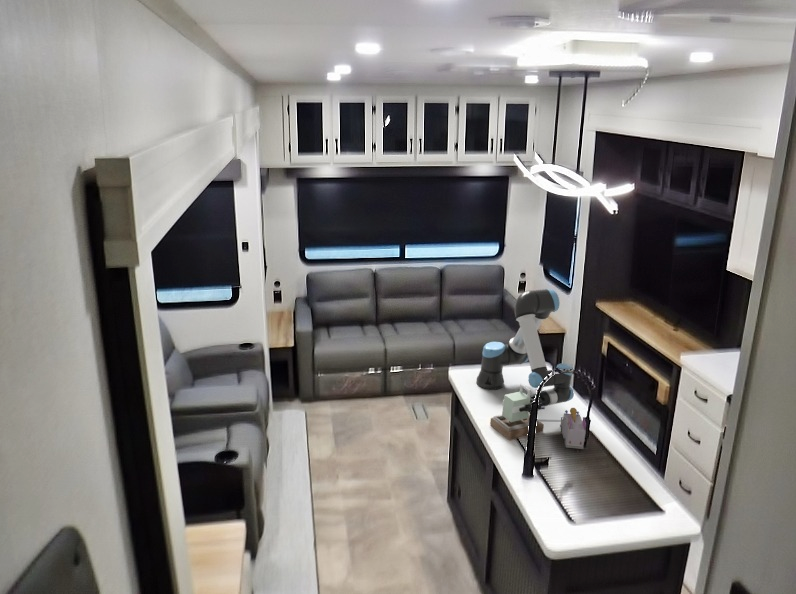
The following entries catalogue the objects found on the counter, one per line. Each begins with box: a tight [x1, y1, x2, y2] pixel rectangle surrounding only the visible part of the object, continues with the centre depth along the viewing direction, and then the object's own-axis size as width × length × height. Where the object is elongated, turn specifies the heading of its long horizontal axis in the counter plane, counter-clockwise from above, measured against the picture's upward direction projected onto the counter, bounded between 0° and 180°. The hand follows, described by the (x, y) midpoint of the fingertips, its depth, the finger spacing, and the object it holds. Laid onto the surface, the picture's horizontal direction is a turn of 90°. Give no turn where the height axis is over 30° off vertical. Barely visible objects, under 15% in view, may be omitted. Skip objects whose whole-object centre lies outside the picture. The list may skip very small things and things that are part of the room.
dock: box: [489, 413, 545, 441], centre depth 300 cm, size 20×15×6 cm
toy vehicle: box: [559, 407, 587, 450], centre depth 290 cm, size 9×20×15 cm, turn 174°
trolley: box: [501, 383, 532, 424], centre depth 295 cm, size 10×7×16 cm
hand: (508, 406), depth 293 cm, fingers closed on trolley, 7 cm apart
